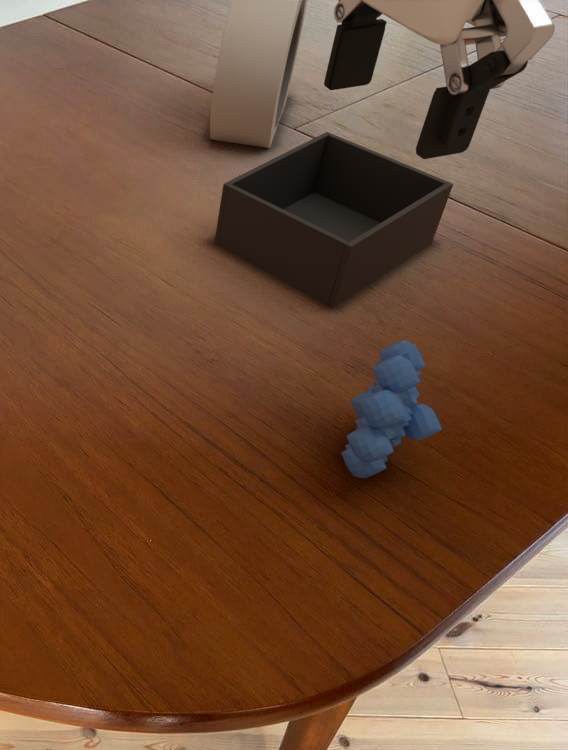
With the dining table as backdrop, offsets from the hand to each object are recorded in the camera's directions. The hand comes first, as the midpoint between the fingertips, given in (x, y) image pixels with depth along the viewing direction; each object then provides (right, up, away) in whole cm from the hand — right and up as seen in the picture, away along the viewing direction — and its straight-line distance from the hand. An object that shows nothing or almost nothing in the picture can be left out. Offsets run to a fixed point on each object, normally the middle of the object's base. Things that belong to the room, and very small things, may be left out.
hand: (390, 117), depth 53 cm
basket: (+9, -1, +39) cm, 40 cm away
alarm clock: (+7, +19, +60) cm, 63 cm away
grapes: (+5, -23, +16) cm, 28 cm away
